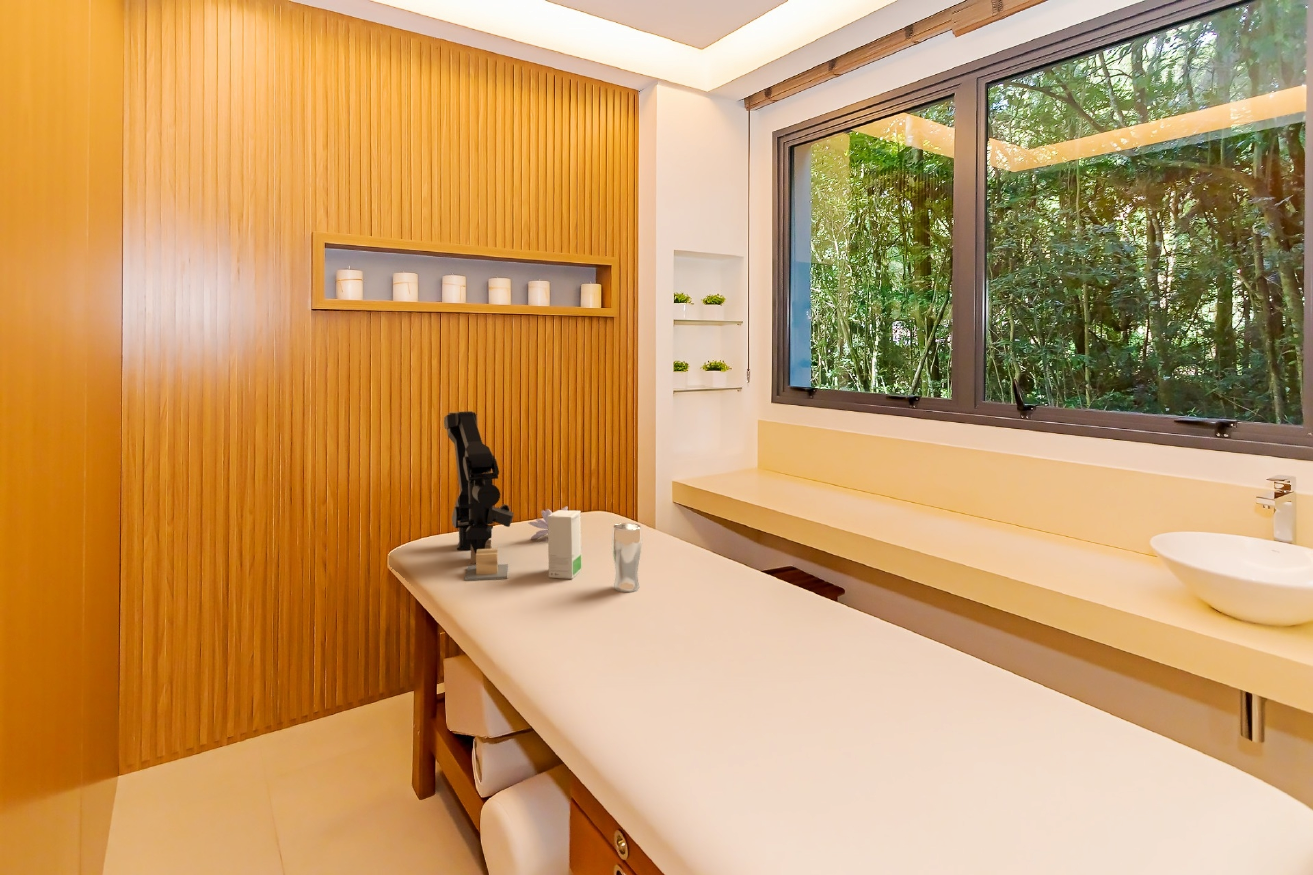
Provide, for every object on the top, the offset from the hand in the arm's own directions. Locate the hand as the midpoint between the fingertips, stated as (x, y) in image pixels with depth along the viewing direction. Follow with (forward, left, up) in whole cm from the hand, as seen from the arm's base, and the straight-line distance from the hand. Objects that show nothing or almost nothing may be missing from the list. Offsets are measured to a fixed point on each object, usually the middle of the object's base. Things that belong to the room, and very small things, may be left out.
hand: (481, 556), depth 192 cm
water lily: (-19, +20, -1) cm, 27 cm away
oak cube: (+11, +2, 0) cm, 11 cm away
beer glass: (+27, +35, -1) cm, 44 cm away
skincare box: (+14, +21, -1) cm, 25 cm away
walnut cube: (0, 0, -1) cm, 1 cm away
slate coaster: (+11, +2, -1) cm, 11 cm away
